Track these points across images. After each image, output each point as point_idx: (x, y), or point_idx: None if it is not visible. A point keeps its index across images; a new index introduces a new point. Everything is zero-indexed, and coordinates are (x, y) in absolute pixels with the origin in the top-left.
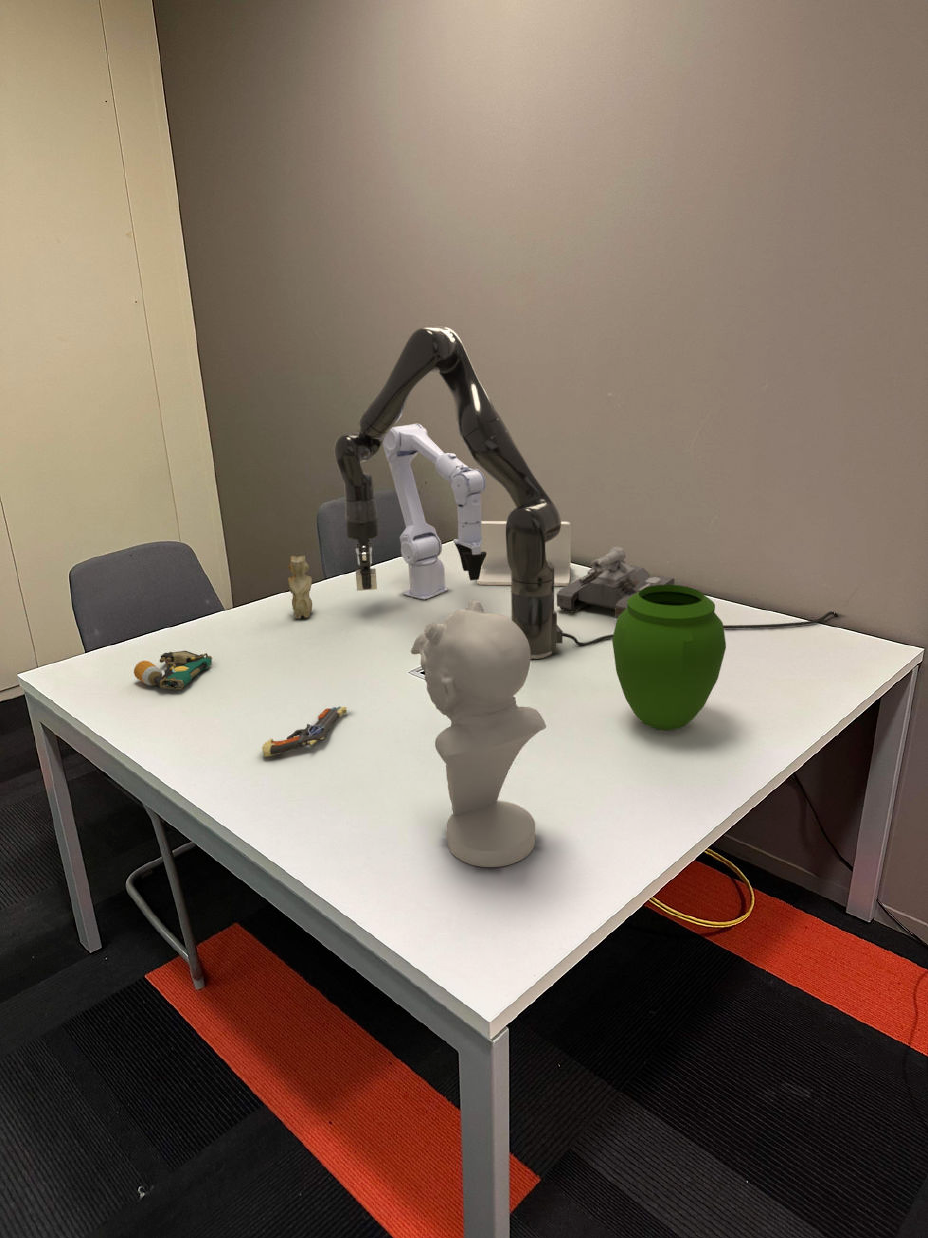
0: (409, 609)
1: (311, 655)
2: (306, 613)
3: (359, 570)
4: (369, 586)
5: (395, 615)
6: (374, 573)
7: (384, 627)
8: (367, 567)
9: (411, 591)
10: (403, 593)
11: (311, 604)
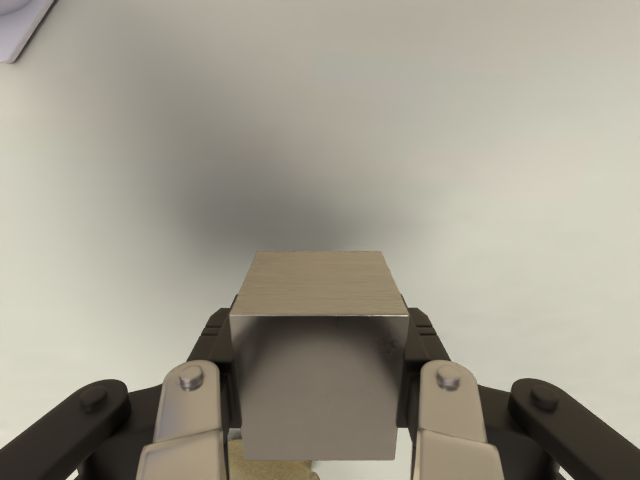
0: (248, 39)
1: (637, 413)
2: (310, 462)
3: (269, 437)
4: (420, 313)
5: (325, 121)
6: (406, 325)
7: (469, 178)
8: (226, 390)
9: (7, 2)
10: (10, 59)
11: (274, 469)
